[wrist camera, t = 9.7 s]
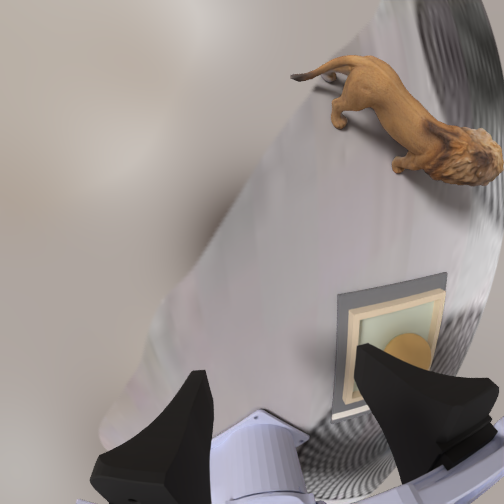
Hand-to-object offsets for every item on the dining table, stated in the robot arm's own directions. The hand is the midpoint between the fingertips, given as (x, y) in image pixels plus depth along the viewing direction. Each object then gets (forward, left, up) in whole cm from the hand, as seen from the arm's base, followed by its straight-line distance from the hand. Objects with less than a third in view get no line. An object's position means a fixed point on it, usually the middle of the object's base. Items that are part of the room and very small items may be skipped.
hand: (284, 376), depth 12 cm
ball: (+5, -13, -7) cm, 16 cm away
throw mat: (+4, -14, -9) cm, 17 cm away
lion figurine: (+16, +3, -10) cm, 19 cm away
